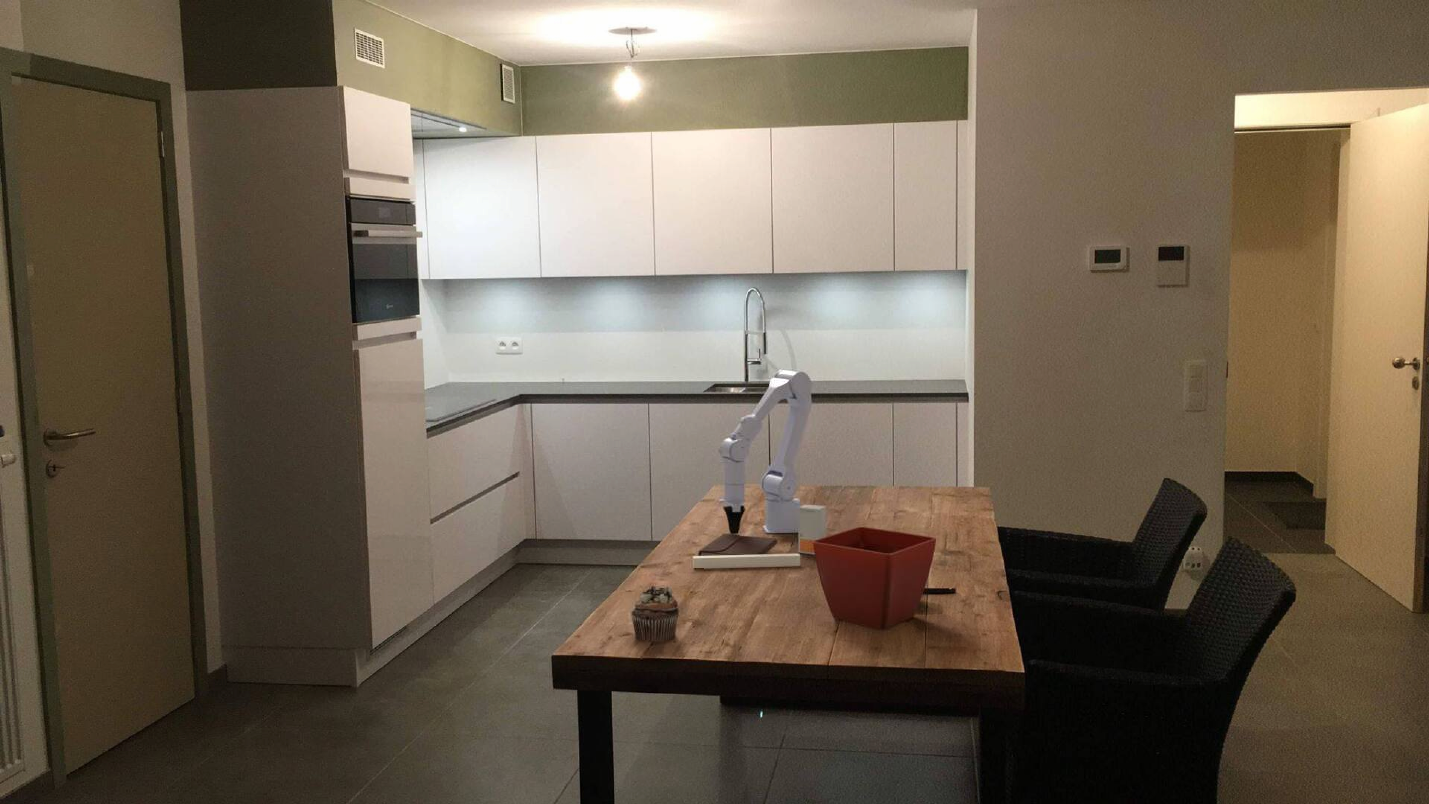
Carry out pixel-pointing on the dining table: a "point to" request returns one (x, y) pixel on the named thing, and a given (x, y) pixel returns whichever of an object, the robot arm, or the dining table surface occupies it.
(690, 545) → the dining table surface
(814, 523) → the skincare box
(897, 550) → the plant pot
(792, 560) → the bar
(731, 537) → the notebook
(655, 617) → the cupcake
